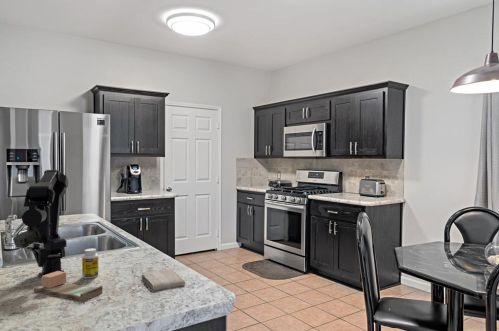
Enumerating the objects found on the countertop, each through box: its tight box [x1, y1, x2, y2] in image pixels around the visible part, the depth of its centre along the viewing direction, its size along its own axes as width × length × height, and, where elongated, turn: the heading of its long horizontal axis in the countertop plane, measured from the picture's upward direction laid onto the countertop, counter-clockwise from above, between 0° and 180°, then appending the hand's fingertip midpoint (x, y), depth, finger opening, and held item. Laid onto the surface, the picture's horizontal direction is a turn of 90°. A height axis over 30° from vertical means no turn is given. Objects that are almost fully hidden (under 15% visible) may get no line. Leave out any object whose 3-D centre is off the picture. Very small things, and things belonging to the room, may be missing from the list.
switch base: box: [33, 282, 104, 302], centre depth 120 cm, size 22×8×2 cm, turn 67°
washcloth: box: [141, 267, 186, 292], centre depth 131 cm, size 12×18×3 cm, turn 31°
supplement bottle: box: [81, 248, 99, 279], centre depth 136 cm, size 6×6×10 cm
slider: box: [41, 271, 67, 288], centre depth 123 cm, size 4×6×4 cm, turn 157°
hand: (40, 266), depth 125 cm, fingers closed
